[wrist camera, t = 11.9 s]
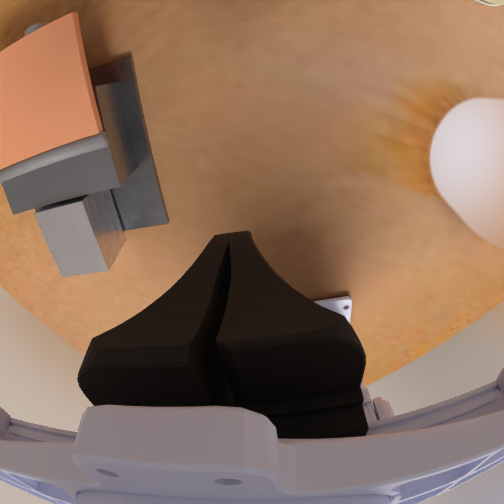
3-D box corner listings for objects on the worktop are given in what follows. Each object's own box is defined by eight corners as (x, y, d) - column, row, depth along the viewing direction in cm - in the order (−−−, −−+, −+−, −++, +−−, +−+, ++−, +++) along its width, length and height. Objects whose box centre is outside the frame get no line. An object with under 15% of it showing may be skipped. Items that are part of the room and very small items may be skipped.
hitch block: (168, 221, 23) (156, 251, 19) (51, 241, 23) (28, 269, 20) (132, 56, 16) (107, 54, 13) (8, 107, 17) (-26, 120, 13)
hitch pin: (126, 239, 23) (108, 271, 19) (83, 246, 23) (62, 276, 19) (72, 16, 13) (40, 11, 10) (27, 39, 14) (-8, 41, 10)
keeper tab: (110, 143, 15) (104, 149, 15) (-1, 181, 16) (-8, 187, 15) (80, 12, 11) (72, 11, 10) (-32, 77, 11) (-41, 80, 10)
